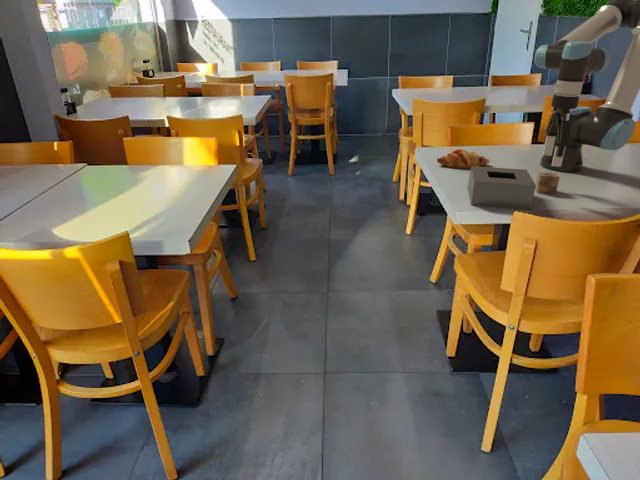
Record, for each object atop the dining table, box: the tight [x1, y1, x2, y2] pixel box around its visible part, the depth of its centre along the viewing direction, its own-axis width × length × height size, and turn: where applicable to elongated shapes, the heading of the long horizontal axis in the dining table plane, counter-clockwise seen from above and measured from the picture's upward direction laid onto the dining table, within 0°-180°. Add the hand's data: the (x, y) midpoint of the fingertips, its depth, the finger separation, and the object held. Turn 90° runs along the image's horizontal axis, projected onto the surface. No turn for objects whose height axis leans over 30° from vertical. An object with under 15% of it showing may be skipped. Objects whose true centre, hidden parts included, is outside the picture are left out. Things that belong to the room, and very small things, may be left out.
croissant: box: [436, 148, 490, 169], centre depth 192 cm, size 21×10×8 cm, turn 95°
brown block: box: [535, 172, 560, 195], centre depth 165 cm, size 6×4×6 cm, turn 78°
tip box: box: [467, 166, 536, 211], centre depth 158 cm, size 18×16×8 cm
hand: (551, 160), depth 162 cm, fingers open, 13 cm apart
